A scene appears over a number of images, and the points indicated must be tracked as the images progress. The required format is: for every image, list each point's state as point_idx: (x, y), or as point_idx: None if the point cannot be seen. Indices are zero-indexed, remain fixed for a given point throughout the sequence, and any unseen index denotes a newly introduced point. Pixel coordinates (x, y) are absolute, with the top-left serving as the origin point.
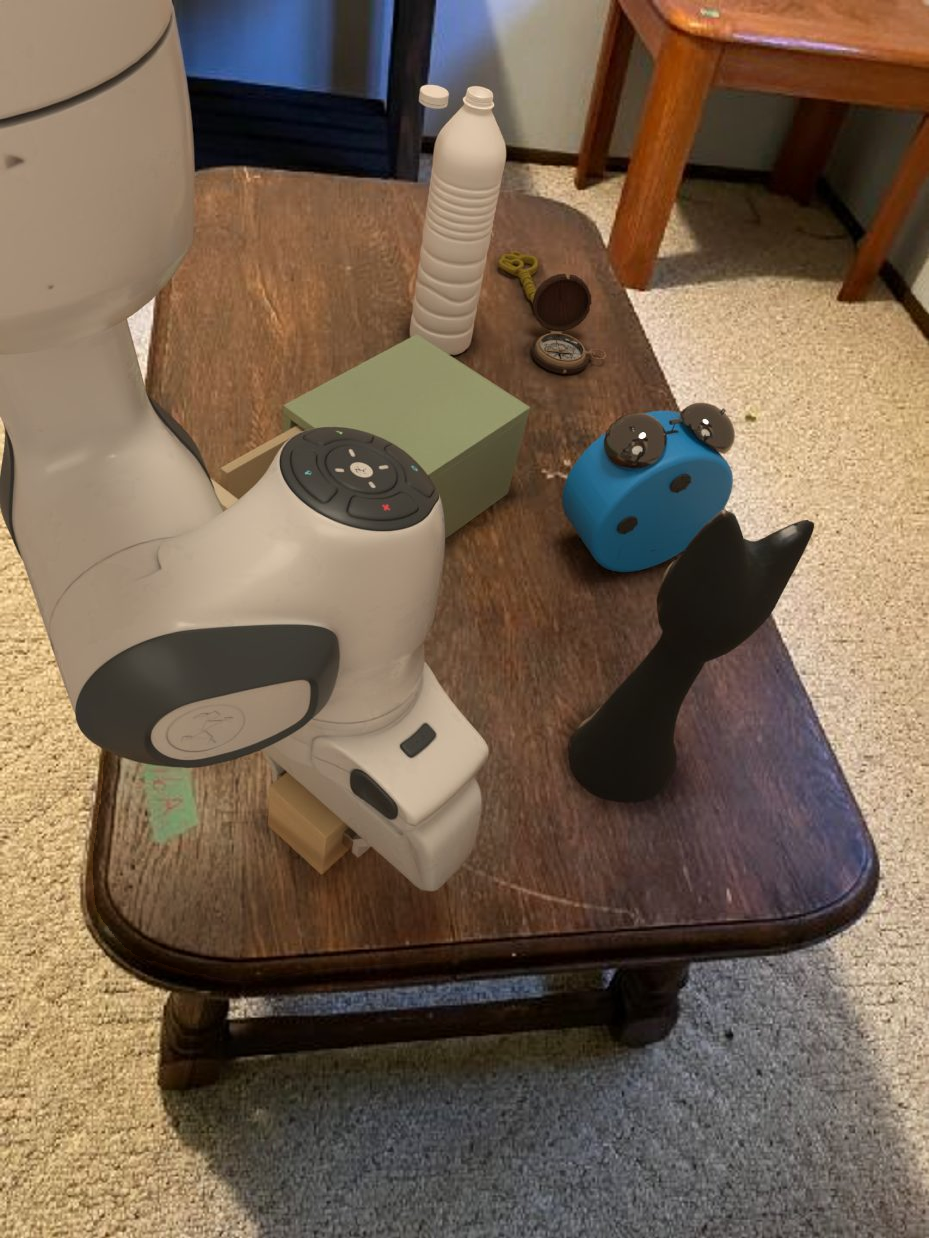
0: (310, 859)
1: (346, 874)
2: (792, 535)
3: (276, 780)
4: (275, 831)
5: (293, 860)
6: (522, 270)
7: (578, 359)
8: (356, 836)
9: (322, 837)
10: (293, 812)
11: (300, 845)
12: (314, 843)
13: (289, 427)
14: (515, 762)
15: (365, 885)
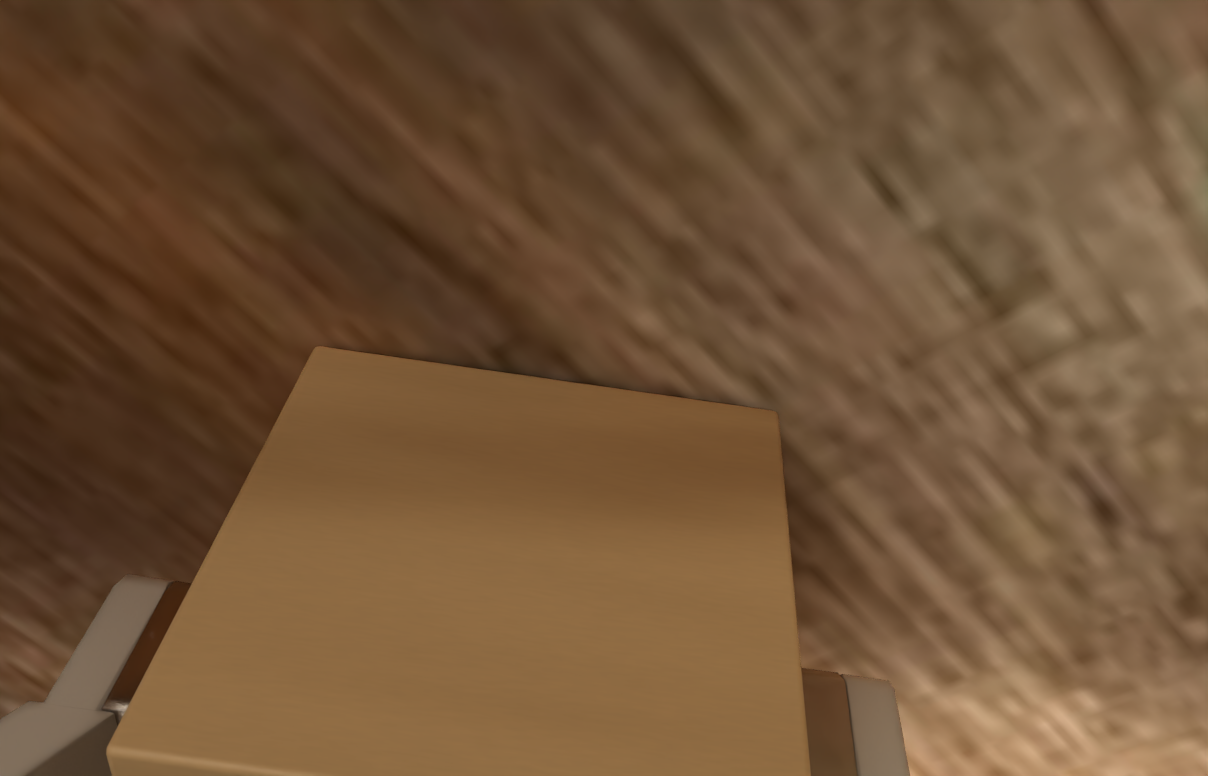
0: (396, 397)
1: (226, 411)
2: None
3: (857, 729)
4: (712, 409)
5: (508, 326)
6: None
7: None
8: (94, 751)
9: (160, 718)
10: (512, 751)
11: (481, 448)
12: (303, 572)
13: None
14: None
15: (108, 415)
